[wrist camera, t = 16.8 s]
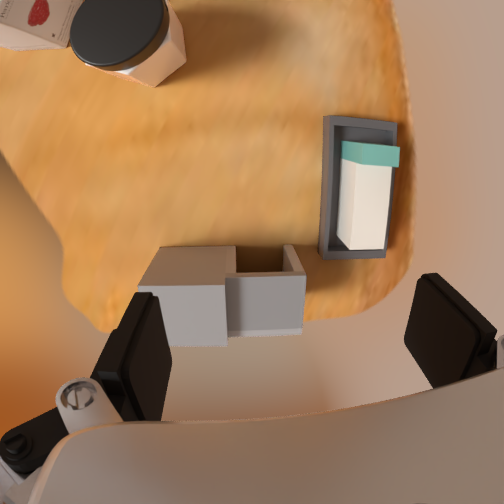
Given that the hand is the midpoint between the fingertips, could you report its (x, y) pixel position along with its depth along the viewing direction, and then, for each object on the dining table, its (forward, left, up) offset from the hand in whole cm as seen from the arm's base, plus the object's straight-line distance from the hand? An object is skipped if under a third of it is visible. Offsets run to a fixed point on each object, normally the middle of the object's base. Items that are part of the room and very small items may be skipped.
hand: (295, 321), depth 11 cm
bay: (+10, -3, -26) cm, 28 cm away
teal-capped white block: (+1, +12, -26) cm, 28 cm away
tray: (0, +12, -26) cm, 29 cm away
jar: (-16, -11, -27) cm, 33 cm away
